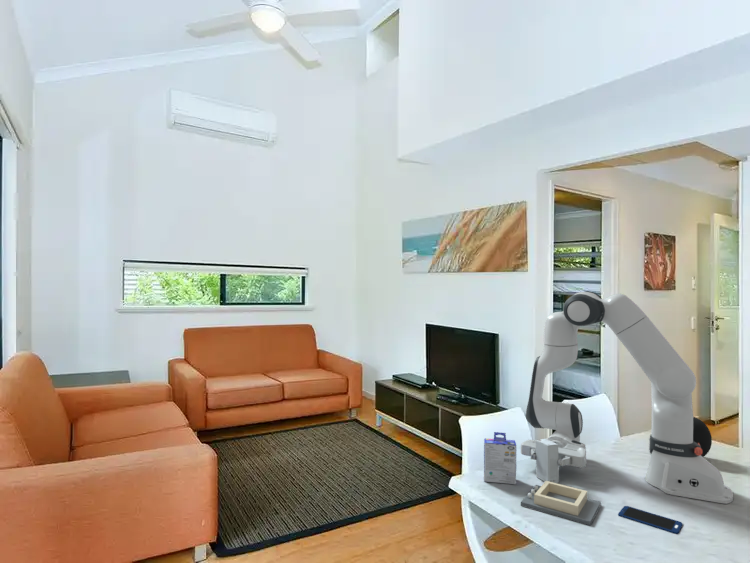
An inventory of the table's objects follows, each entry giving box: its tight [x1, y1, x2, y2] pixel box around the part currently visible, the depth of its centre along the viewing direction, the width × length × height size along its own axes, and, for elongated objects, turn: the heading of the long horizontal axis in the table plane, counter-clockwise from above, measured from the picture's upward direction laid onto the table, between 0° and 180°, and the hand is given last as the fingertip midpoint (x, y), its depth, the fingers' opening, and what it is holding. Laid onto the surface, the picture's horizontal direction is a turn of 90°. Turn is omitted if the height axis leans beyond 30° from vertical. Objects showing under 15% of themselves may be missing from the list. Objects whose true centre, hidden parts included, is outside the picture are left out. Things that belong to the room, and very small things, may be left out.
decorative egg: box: [693, 416, 713, 458], centre depth 169 cm, size 12×12×15 cm
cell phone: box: [617, 505, 684, 535], centre depth 124 cm, size 7×14×1 cm, turn 48°
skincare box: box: [535, 438, 560, 484], centre depth 148 cm, size 6×4×12 cm
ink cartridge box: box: [483, 431, 517, 485], centre depth 148 cm, size 10×6×14 cm, turn 78°
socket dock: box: [520, 481, 602, 526], centre depth 132 cm, size 18×14×4 cm
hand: (546, 460), depth 148 cm, fingers closed on skincare box, 7 cm apart
